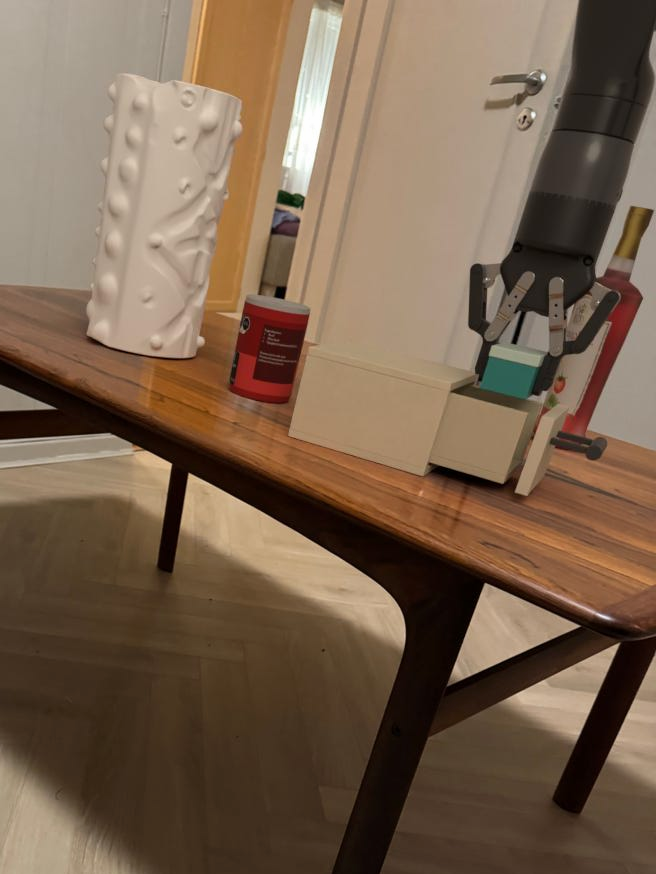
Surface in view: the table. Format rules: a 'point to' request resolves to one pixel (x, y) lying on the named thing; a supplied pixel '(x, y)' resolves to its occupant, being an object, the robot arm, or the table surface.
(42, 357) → the table surface
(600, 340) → the liquor
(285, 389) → the canned food
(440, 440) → the drawer
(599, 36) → the robot arm
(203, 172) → the vase
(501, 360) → the small lidded box
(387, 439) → the cabinet
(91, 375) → the table surface
